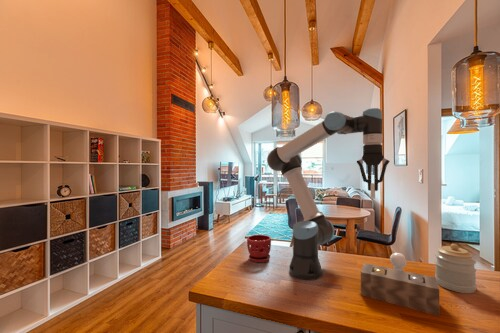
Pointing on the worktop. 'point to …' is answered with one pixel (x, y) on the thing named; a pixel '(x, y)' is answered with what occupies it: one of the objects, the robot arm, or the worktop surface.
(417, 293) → the socket block
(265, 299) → the worktop surface
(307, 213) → the robot arm
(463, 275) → the jar
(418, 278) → the steel peg
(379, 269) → the brass peg
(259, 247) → the plant pot
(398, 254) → the lightbulb
